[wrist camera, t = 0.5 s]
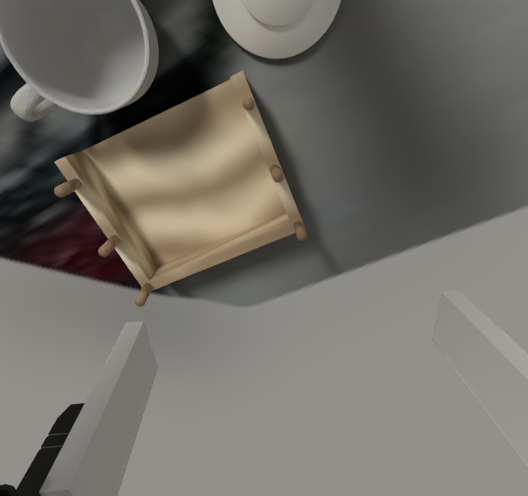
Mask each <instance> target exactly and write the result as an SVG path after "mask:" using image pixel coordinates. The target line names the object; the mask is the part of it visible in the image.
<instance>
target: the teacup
mask: <svg viewBox="0 0 528 496" xmlns="http://www.w3.org/2000/svg"><path fill="white" fill-rule="evenodd" d="M0 42H1V45H2V47H3V49H4V51H5V53H6V55H7V57H8V58H9V60H10V61H11V63H12V64H13V66H14V67H15V69H16V70H17V71H18V73H19V74H20V75H21V76H22V78H23V79H24V80H25V81H26V82H27V84H25V85H24V86H23V87H22V88H21V89H19V90H18V91H17V92H16V94H15V95H14V96H13V98H12V100H11V108H12V110H13V111H14V112H15V114H17V115H18V116H19V117H21V118H22V119H24V120H26V121H35V120H38V119H40V118H42V117H44V116H45V115H47V114H48V113H50V112H51V111H52V110H54V109H55V108H56V107H57V106H59V107H61V108H64V109H66V110H69V111H73V112H76V113H79V114H86V115H99V114H106V113H111V112H113V111H115V110H118V109H120V108H122V107H124V106H127V105H129V104H131V103H133V102H135V101H136V100H138V99H139V98H140V97H142V96H143V95H144V94H145V92H146V91H147V90H148V89H149V87H150V86H151V84H152V82H153V80H154V78H155V75H156V72H157V68H158V62H159V48H158V40H157V35H156V32H155V28H154V26H153V23H152V20H151V18H150V16H149V14H148V12H147V10H146V9H145V7H144V6H143V4H142V3H141V1H140V0H0Z"/></svg>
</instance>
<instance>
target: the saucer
mask: <svg viewBox="0 0 528 496" xmlns="http://www.w3.org/2000/svg"><path fill="white" fill-rule="evenodd" d="M340 2H341V0H213V3H214V6H215V9H216V12H217V15H218V17H219V19H220V21H221V23H222V25H223V26H224V28H225V30H226V31H227V32H228V34H229V35H230V36H231V37H232V39H233V40H234V41H235V42H236V43H237V44H239V45H240V46H241V47H242V48H244V49H245V50H247V51H249V52H250V53H252V54H254V55H257V56H260V57H264V58H268V59H284V58H288V57H292V56H295V55H297V54H300V53H302V52H303V51H305V50H307V49H308V48H309V47H311V46H312V45H313V44H315V43H316V42H317V41H318V40H319V39H320V38H321V37H322V36H323V34H324V33H325V32H326V31H327V29H328V28H329V26H330V25H331V23H332V21H333V19H334V17H335V15H336V13H337V11H338V8H339V5H340Z"/></svg>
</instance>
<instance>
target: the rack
mask: <svg viewBox="0 0 528 496" xmlns="http://www.w3.org/2000/svg"><path fill="white" fill-rule="evenodd" d="M230 78H231V80H229V81H227V82H225V83H222V84H220V85H218V86H216V87H214V88H212V89H210V90H208V91H206V92H204V93H202V94H200V95H198V96H196V97H193V98H191V99H189V100H187V101H185V102H183V103H181V104H179V105H177V106H175V107H173V108H171V109H169V110H166V111H164V112H162V113H160V114H158V115H156V116H154V117H152V118H150V119H148V120H146V121H144V122H142V123H139V124H137V125H135V126H133V127H131V128H129V129H127V130H125V131H123V132H121V133H119V134H117V135H115V136H112V137H110V138H108V139H106V140H104V141H102V142H100V143H98V144H96V145H94V146H92V147H90V148H88V149H85V150H83V151H81V152H78V153H75V154H72V155H68V156H65V157H63V158H61V159H59V160H57V161H55V163H56V165H57V166H58V168H59V169H60V171H61V172H62V173H63V175H64V176H65V178H66V179H67V182H65V183H63V184H61V185H59V186H57V187H55V189H54V192H55V194H56V195H57V196H59V197H64V196H66V195H68V194H70V193H72V192H73V191H75V192H76V194H77V195H78V196H79V198H80V199H81V201H82V202H83V204H84V205H85V206H86V208H87V209H88V211H89V212H90V214H91V215H92V216H93V218H94V219H95V221H96V222H97V224H98V225H99V226H100V228H101V229H102V231H103V232H104V234H105V235H106V236H107V238H108V240H107V241H106V242H105V243H104V244H103V245H102V246H101V247H100V248H99V250H98V253H99V254H100V255H101V256H103V257H106V256H108V255H109V254H110V253H111V251H112V250H113V249H114V248H115V249H116V251H117V252H118V254H119V255H120V257H121V258H122V259H123V261H124V262H125V264H126V265H127V267H128V268H129V269H130V271H131V272H132V274H133V275H134V277H135V278H136V279H137V281H138V282H139V284H140V285H141V287H142V289H141V291H140V293H139V295H138V296H137V298H136V300H135V304H136V305H137V306H143V305H144V304H145V302H146V300H147V298H148V296H149V294H150V292H151V291H152V290H155V289H157V288H160V287H162V286H165V285H167V284H170V283H172V282H175V281H177V280H180V279H182V278H185V277H187V276H189V275H192V274H194V273H197V272H199V271H202V270H204V269H207V268H209V267H212V266H214V265H217V264H219V263H222V262H224V261H227V260H229V259H232V258H234V257H236V256H239V255H241V254H244V253H246V252H249V251H251V250H254V249H256V248H259V247H261V246H264V245H266V244H269V243H271V242H274V241H276V240H279V239H281V238H283V237H286V236H288V235H291V234H293V233H296V236H297V238H298V240H299V241H300V242H304V241H306V240H307V238H308V236H307V233H306V231H305V226H304V224H303V221H302V219H301V216H300V214H299V211H298V209H297V206H296V204H295V201H294V199H293V196H292V194H291V191H290V189H289V186H288V183H287V181H286V178H285V176H284V173H283V171H282V168H281V166H280V163H279V161H278V158H277V156H276V153H275V151H274V148H273V146H272V143H271V141H270V138H269V136H268V133H267V131H266V128H265V125H264V123H263V120H262V118H261V115H260V113H259V110H258V108H257V105H256V103H255V100H254V98H253V95H252V93H251V90H250V88H249V85H248V83H247V80H246V78H245V75H244V72H243V71H241V72H239V73H237V74H235V75H233V76H231V77H230Z"/></svg>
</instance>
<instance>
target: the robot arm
mask: <svg viewBox="0 0 528 496" xmlns="http://www.w3.org/2000/svg"><path fill="white" fill-rule="evenodd" d="M433 341H434V343H435V344H436V345H437V346H438V348H439V349H440V351H441V352H442V353H443V355H444V356H445V357H446V359H447V360H448V361H449V362H450V364H451V365H452V366H453V368H454V369H455V371H456V372H457V373H458V374H459V376H460V377H461V378H462V380H463V381H464V382H465V384H466V385H467V387H468V388H469V389H470V391H471V392H472V393H473V395H474V396H475V397H476V399H478V401H479V402H480V404H481V405H482V406H483V408H484V409H485V411H486V412H487V413H488V415H489V416H490V417H491V419H492V420H493V421H494V423H495V424H496V425H497V426H498V428H499V429H500V431H501V432H502V433H503V435H504V436H505V437H506V439H507V440H508V441H509V443H510V444H511V445H512V447H513V448H514V449H515V451H516V452H517V453H518V455H519V456H520V457H521V458H522V460H523V461H524V463H525V464H526V465H527V466H528V354H527V353H526V352H525V351H524V350H523V349H521V348H520V347H519V346H518V345H517V344H516V343H515V342H514V341H513V340H512V339H511V338H510V337H509V336H508V335H506V334H505V333H504V332H503V331H502V330H501V329H500V328H499V327H498V326H497V325H496V324H495V323H494V322H492V320H491V319H489V318H488V317H487V316H486V315H485V314H484V313H483V312H482V311H481V310H480V309H479V308H478V307H477V306H475V305H474V304H473V303H472V302H471V301H470V300H469V299H468V298H467V297H466V296H465V295H463V293H462V292H461V291H459V290H456V291H446V292H442V295H441V300H440V305H439V310H438V315H437V320H436V326H435V331H434V337H433ZM157 369H158V365H157V362H156V359H155V356H154V352H153V349H152V346H151V343H150V339H149V336H148V333H147V330H146V327H145V323H144V321H139V322H129V323H126V324H125V326H124V328H123V330H122V332H121V334H120V336H119V338H118V340H117V342H116V344H115V346H114V348H113V350H112V351H111V353H110V355H109V357H108V360H107V361H106V363H105V365H104V367H103V369H102V371H101V373H100V375H99V377H98V379H97V381H96V383H95V385H94V386H93V388H92V390H91V392H90V394H89V396H88V398H87V400H86V402H85V403H81V404H72V405H70V406H69V407H68V408H67V409H66V410H65V411H64V412H63V413H62V414H61V415H60V416H59V417H58V418H57V420H56V422H55V424H54V425H53V427H52V429H51V431H50V432H49V436H48V437H46V439H45V441H44V443H43V444H42V446H41V450H39V452H38V453H37V455H36V457H35V458H34V460H33V462H32V463H31V466H30V467H29V469H28V470H27V472H26V474H25V476H24V477H23V479H22V481H21V483H20V484H19V486H18V488H17V489H15V488H14V486H10V485H7V484H5V485H0V496H117V495H118V492H119V489H120V486H121V483H122V479H123V477H124V473H125V470H126V467H127V464H128V461H129V458H130V454H131V451H132V448H133V445H134V442H135V438H136V435H137V432H138V429H139V425H140V423H141V420H142V417H143V413H144V410H145V407H146V404H147V400H148V398H149V394H150V391H151V388H152V385H153V382H154V378H155V376H156V372H157Z"/></svg>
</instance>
